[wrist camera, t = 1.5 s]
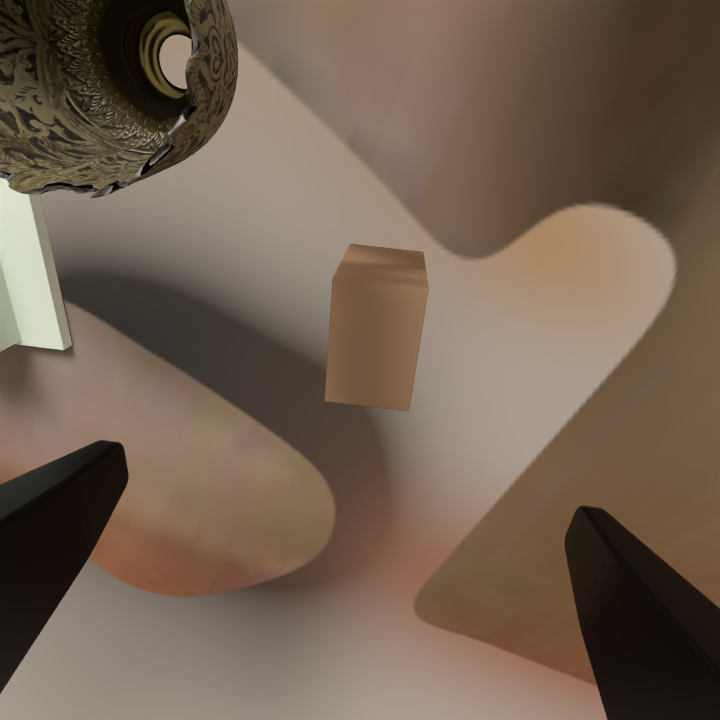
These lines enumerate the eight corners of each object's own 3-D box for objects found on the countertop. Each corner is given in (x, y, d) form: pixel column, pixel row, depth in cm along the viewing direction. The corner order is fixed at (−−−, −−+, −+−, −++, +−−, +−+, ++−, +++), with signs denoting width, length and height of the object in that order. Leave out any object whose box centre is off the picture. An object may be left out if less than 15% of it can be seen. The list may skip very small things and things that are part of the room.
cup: (95, 159, 18) (-110, 176, 11) (63, -88, 15) (-260, -297, 8) (280, 186, 18) (196, 221, 11) (291, -57, 15) (180, -242, 7)
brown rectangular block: (423, 251, 19) (428, 289, 14) (408, 351, 21) (408, 411, 16) (350, 243, 19) (332, 278, 14) (342, 343, 21) (324, 401, 16)
